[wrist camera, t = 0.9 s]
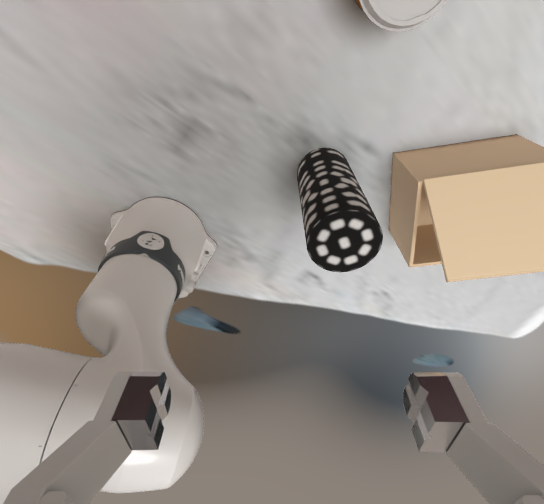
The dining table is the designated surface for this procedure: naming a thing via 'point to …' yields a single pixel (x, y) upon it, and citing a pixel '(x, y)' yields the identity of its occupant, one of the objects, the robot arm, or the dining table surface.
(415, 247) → the carton
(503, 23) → the dining table surface
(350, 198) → the white-spotted black cylinder
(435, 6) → the disposable coffee cup
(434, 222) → the carton flap
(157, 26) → the dining table surface
